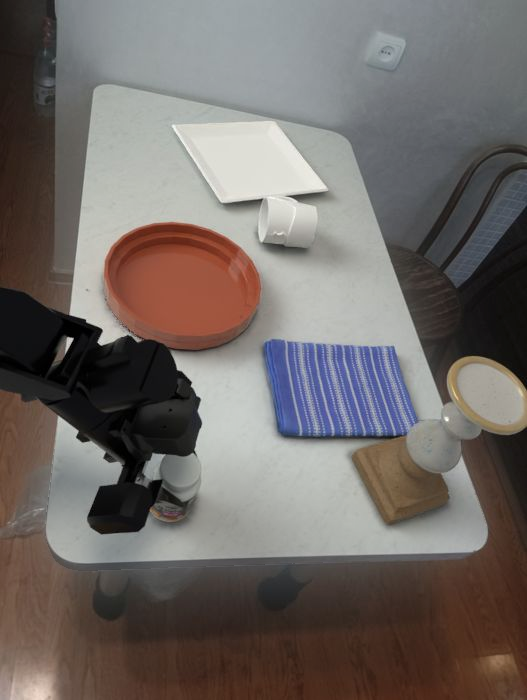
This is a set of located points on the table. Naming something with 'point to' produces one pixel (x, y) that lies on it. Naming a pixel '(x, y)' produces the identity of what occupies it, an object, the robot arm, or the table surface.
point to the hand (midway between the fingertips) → (188, 483)
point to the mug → (287, 222)
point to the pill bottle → (178, 484)
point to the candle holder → (441, 439)
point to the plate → (248, 160)
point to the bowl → (181, 285)
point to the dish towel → (338, 390)
